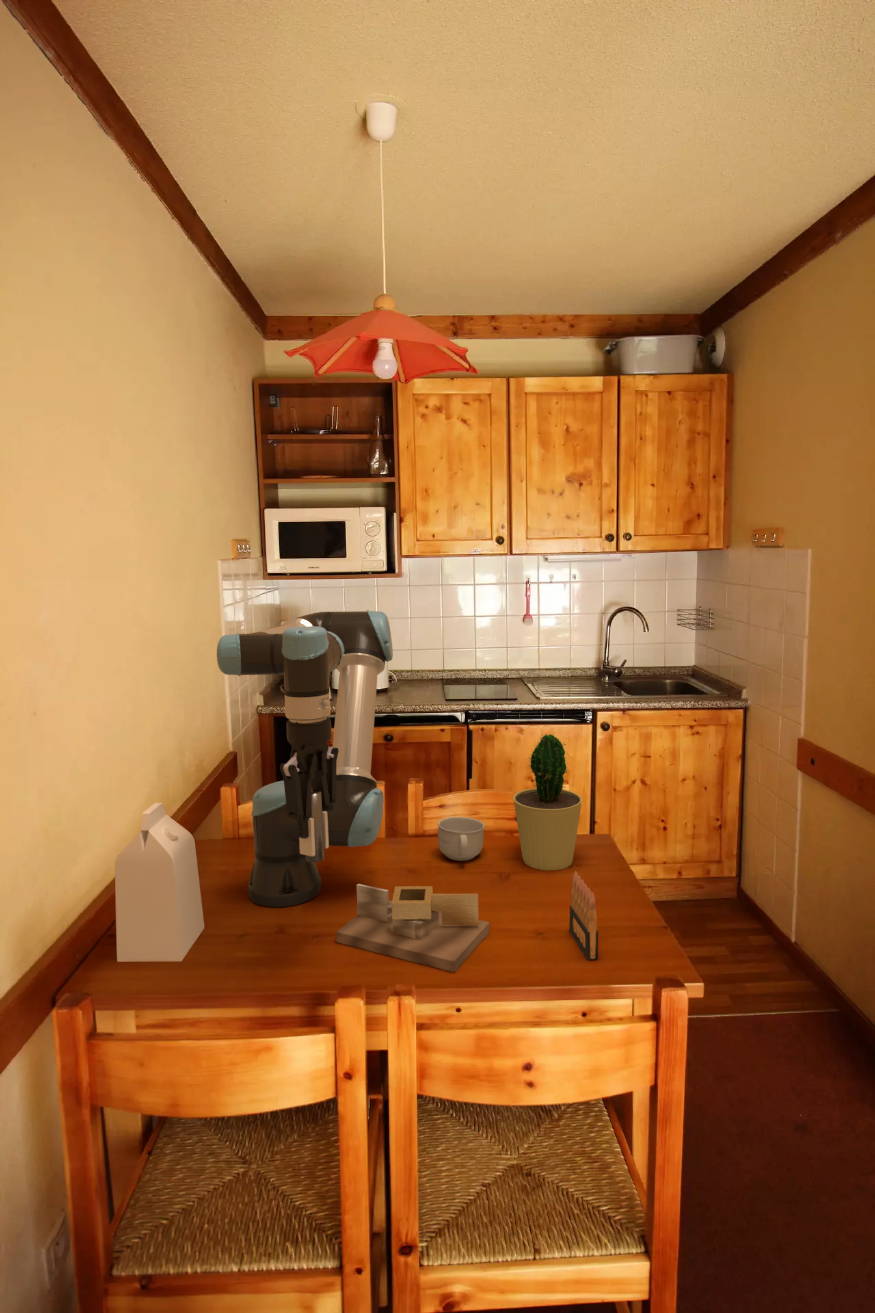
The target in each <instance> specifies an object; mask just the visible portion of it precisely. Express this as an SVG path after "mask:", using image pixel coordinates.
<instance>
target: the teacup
mask: <svg viewBox="0 0 875 1313" xmlns="http://www.w3.org/2000/svg"><path fill="white" fill-rule="evenodd" d="M437 826H438V830H437V831H438V832H437V833H438V834H437V840H438V842H437V843H438V848H439V850H440V852H441V853H442V854H443V855H444V856H445V857H447V858H448V859H450V860H453V861H458V862H459V861H460V862H463V861H465V862H466V861H470V860H473V859H474V858H476V856H478V855H479V854H480V853H481V851H482V849H483V845H484V835H485V834H484V833H485V823H484V822H483V821H481V820H479V819H476V818H473V817H465V816H450V817H446V818H442V819H440V820H439V821H438V822H437Z"/></svg>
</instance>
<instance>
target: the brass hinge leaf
mask: <svg viewBox="0 0 875 1313" xmlns="http://www.w3.org/2000/svg"><path fill="white" fill-rule="evenodd" d="M391 901H392V919H431V915H432V911H441V912H442V925H479V924H478V920H479V893H433V885H431V886H429V885H423V886H420V885H418V886H417V885H414V886H412V885H410V886H409V885H408V886H406V885H405V886H402V885H400V886H397V885H396V886H394V891H393V895H392V900H391Z"/></svg>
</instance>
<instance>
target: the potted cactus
mask: <svg viewBox="0 0 875 1313" xmlns="http://www.w3.org/2000/svg"><path fill="white" fill-rule="evenodd" d="M541 733H542V732H541ZM541 733H539V735H541V736H539V738H538V740H539V742H538V741H535V742H536V743H535V744H534V746H533V747H534V749H531V750H532V752H531V754H529V755H530V757H529V758H527V762H526V763H529V771H530V774H533V777H532V783H533V784H534V785H531V786H534V787H533V788H527V789H524V790H519V791H518V792H516V793H515V794H514V795H513V796H512V799H513V803H514V804H513V806H514V810H515V811H514V812H515V817H516V818H515V819H516V823H517V824H516V825H517V831H518V837H519V842H520V849H521V857H522V860H523V863H524V864H525V865H526V866H528V867H530V868H533V869H536V870H542V871H558V870H559V871H560V870H564V869H567V868H568V867H570V866H571V865H572V864H573V861H574V855H575V854H574V853H575V848H576V841H577V835H578V828H579V821H580V815H581V809H582V801H583V799H582V796H581V795H580V794H578V793H576V792H574V791H571V790H568V789H565V785H564V782H565V779H566V777H568V775H569V769H567V765H569V763H568V761H567V758H568V757H567V756H568V755H567V754H566V752H567V751H566V748H568V747H566V748H564V747H565V746H566V742H563V743H562V741H561V738H558V737H557V736H556V735H555V733H556V732H554V733H553V734H552V733H550V734H547V733H545V734H543V733H542V734H541ZM566 774H568V775H566ZM564 776H565V777H564Z"/></svg>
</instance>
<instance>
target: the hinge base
mask: <svg viewBox="0 0 875 1313" xmlns="http://www.w3.org/2000/svg"><path fill="white" fill-rule="evenodd" d="M389 894H390V893H389V889H385V888H379V887H376V886H370V885H365V884H361V883H358V884H356V902H357V903H356V904H357V905H356V906H357V915H355V916H354V917H353V918H352V919H351V920H349V921H347V923H345V924H344V925H343V926H341V928H339V929H338V930H337V931H336V932H335V933H336V934H335V936H336V943H340V944H343V945H346V946H350V947H353V948H354V947H355V948H357V949H362V950H366V951H370V952H374V953H377V954H381V955H385V956H388V957H393V958H397V959H399V960H400V959H401V960H404V961H408V962H412V963H415V964H419V963H420V964H421V965H423V966H427V967H431V968H434V969H438V968H439V970H444V971H446V970H447V972H450V971H451V973H454V972H455V971H456V972H457V971H458V969H459V968H460V967H461V966H462V964H464V963H465V962H466V961H467V959H468V958H469V956H471V954H472V953H473V952H474V951H475V950H476V948H478V946H479V945H480V944H481V943H482V941H483V940H484V939H485V938H486V937H487V936H488V934H490V921H485V920H481V919H478V924H479V925H442V911H432V915H431V919H392V900H390V895H389ZM460 965H461V966H460ZM456 972H455V973H456Z"/></svg>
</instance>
